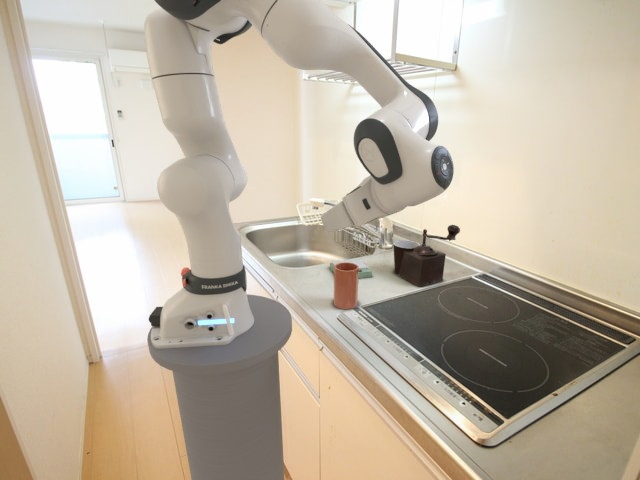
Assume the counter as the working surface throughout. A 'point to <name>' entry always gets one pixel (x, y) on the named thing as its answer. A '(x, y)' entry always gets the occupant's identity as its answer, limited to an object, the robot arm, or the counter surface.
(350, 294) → the tumbler
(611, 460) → the counter surface
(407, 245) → the coffee mug
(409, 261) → the manual coffee grinder
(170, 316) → the robot arm
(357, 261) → the scale
